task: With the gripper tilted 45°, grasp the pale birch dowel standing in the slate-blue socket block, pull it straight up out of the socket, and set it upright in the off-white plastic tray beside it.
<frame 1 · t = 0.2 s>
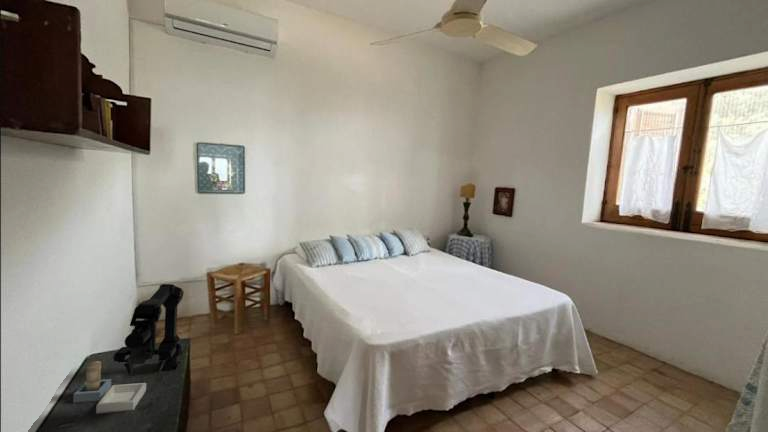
hand: (144, 373, 121), 14 cm above the table, tool pointing down, fingers open, 9 cm apart
socket block: (92, 394, 126), on the table
tray: (122, 401, 124), on the table
birch dowel: (93, 379, 125), in the socket block
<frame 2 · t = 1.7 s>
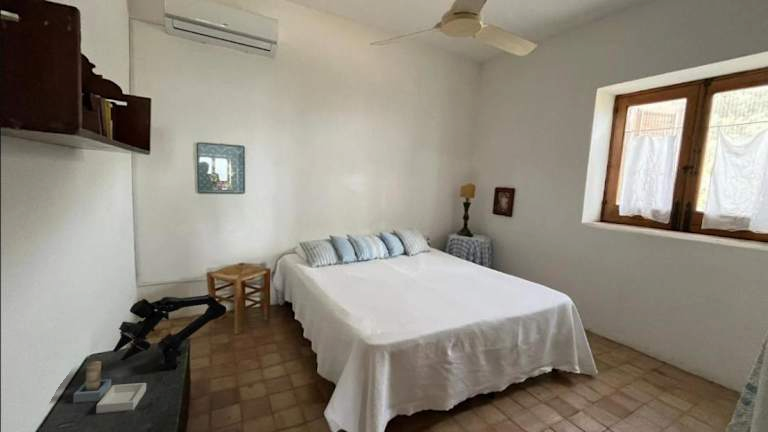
hand: (117, 355, 131), 14 cm above the table, tool tilted 45°, fingers open, 9 cm apart
nothing on the table moved.
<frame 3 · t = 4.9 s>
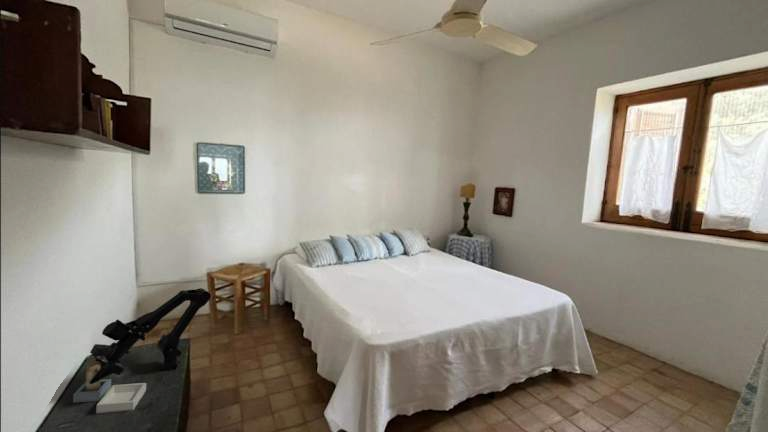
hand: (88, 380, 124), 7 cm above the table, tool tilted 45°, fingers closed on birch dowel, 4 cm apart
birch dowel: (93, 379, 125), in the socket block, touching gripper
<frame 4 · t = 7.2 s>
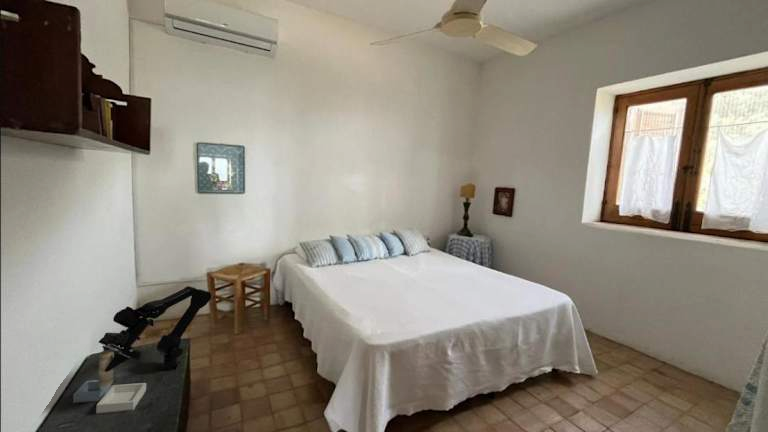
hand: (102, 369, 122), 13 cm above the table, tool tilted 45°, fingers closed on birch dowel, 4 cm apart
birch dowel: (106, 368, 123), point 13 cm above the table, touching gripper
when the fingers open (8 cm above the table, at t = 9.3 s): birch dowel drops 1 cm, resting on tray.
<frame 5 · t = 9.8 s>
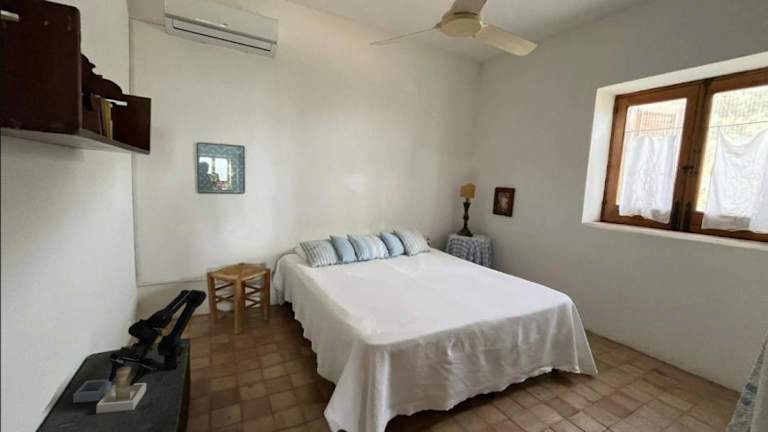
hand: (120, 383, 122), 9 cm above the table, tool tilted 45°, fingers open, 9 cm apart
birch dowel: (123, 384, 123), in the tray, point 7 cm above the table
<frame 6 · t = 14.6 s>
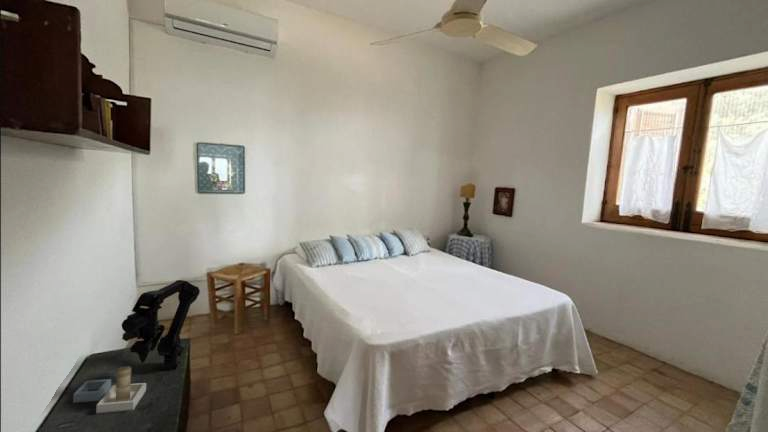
hand: (147, 356, 134), 13 cm above the table, tool pointing down, fingers open, 9 cm apart
nothing on the table moved.
at the end: birch dowel inside the target area on the tray (0.1 cm from its centre), point 7.1 cm above the tray's base; birch dowel tilted 0°; the gripper is holding nothing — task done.
